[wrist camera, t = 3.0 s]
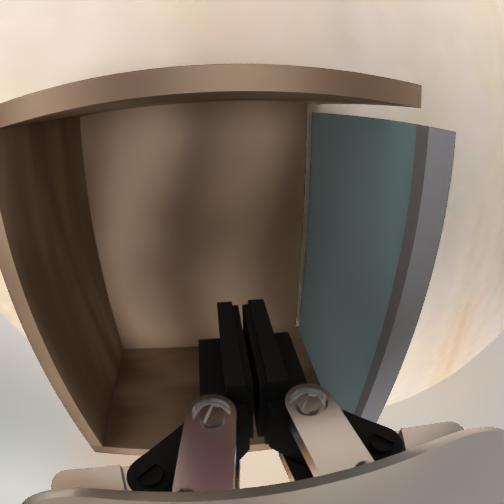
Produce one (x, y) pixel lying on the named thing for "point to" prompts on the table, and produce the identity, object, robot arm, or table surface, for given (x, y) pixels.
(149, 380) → the box
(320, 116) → the light blue panel
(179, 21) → the table surface
